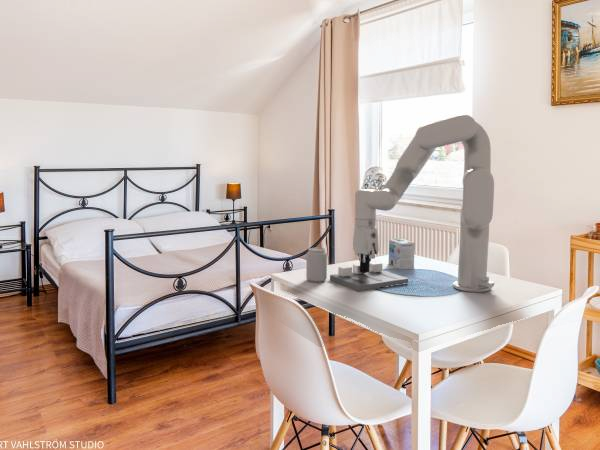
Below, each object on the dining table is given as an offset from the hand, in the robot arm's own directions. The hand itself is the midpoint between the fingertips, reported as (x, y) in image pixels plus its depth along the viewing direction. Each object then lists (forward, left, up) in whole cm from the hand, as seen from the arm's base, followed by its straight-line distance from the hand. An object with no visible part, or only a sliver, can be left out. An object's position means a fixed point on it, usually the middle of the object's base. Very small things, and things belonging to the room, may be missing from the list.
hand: (364, 272), depth 193 cm
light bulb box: (+13, -28, -4) cm, 31 cm away
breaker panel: (-2, 0, -3) cm, 4 cm away
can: (+9, +16, -3) cm, 18 cm away
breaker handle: (+3, 0, -1) cm, 4 cm away
